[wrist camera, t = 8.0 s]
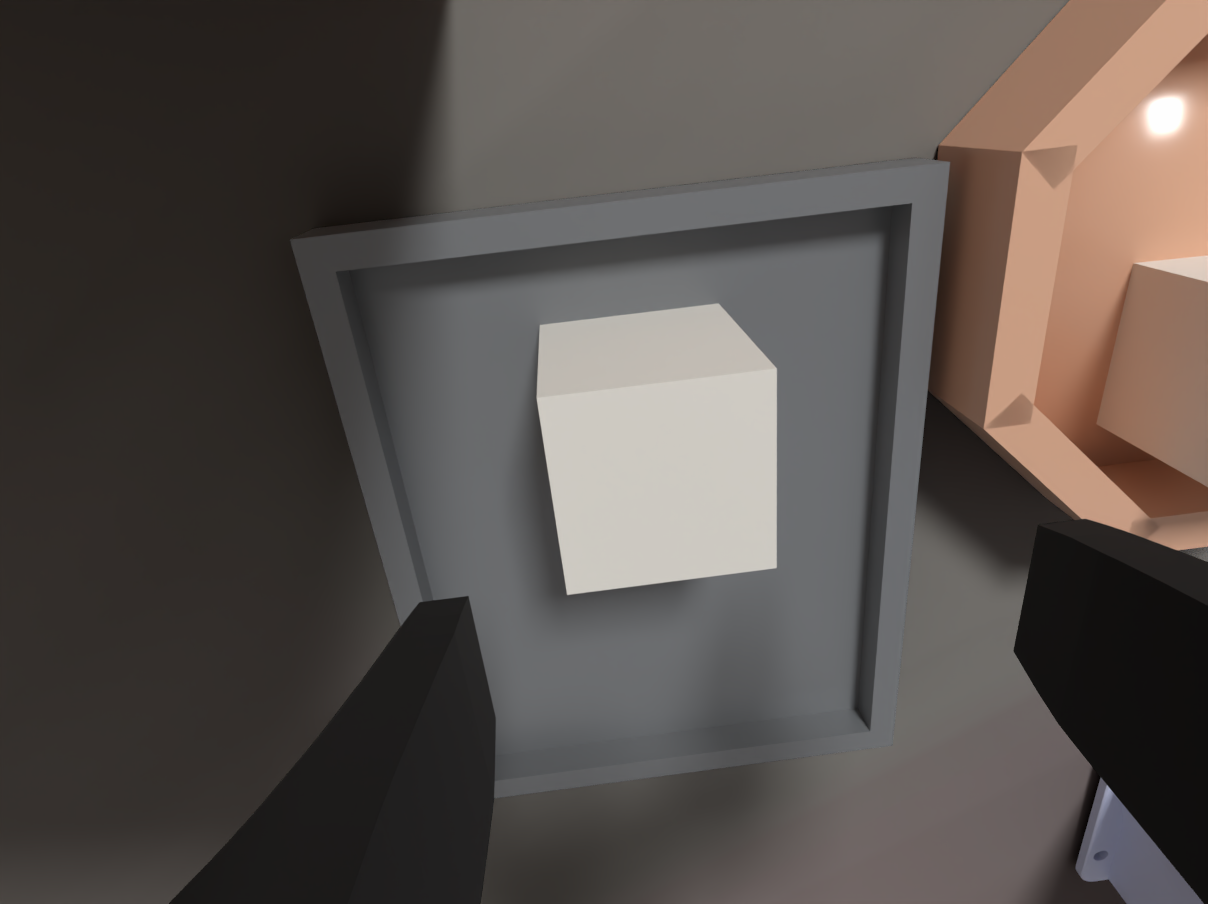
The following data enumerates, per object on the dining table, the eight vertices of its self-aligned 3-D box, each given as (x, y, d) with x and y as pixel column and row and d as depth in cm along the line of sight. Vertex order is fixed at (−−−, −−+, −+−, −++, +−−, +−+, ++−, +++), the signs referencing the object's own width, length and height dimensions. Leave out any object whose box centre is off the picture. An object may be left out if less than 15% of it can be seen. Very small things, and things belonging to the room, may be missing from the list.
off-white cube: (724, 463, 18) (776, 568, 14) (562, 483, 18) (567, 595, 13) (718, 303, 16) (776, 368, 12) (539, 325, 16) (536, 397, 12)
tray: (871, 707, 22) (892, 745, 21) (457, 762, 22) (451, 804, 21) (915, 157, 15) (950, 161, 14) (312, 228, 15) (289, 239, 14)
